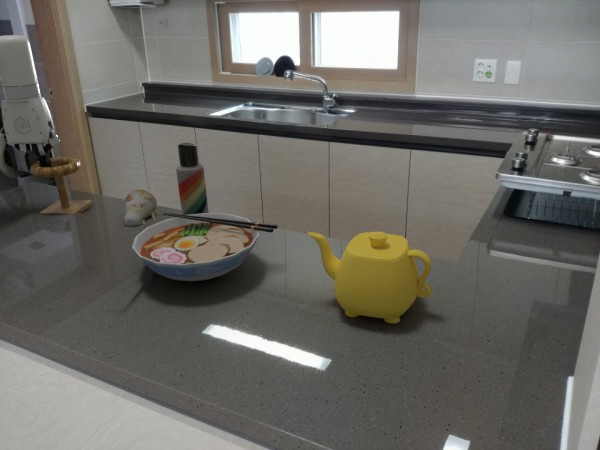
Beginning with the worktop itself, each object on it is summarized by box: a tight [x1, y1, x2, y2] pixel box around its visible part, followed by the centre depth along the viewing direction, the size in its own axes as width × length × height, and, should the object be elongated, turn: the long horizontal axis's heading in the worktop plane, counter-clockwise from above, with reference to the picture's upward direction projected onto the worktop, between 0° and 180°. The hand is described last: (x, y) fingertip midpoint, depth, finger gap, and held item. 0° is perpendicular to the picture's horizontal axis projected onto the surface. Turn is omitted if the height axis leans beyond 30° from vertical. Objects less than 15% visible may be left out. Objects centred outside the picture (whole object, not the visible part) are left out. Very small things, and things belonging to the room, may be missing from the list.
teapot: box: [307, 231, 433, 324], centre depth 85 cm, size 14×20×13 cm
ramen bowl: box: [131, 212, 279, 282], centre depth 99 cm, size 25×23×8 cm
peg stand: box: [39, 158, 93, 214], centre depth 130 cm, size 9×9×13 cm
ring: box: [29, 156, 82, 179], centre depth 129 cm, size 11×11×2 cm
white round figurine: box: [123, 188, 158, 227], centre depth 123 cm, size 8×10×10 cm
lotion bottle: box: [175, 142, 210, 215], centre depth 114 cm, size 6×6×20 cm
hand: (39, 169), depth 129 cm, fingers closed on ring, 2 cm apart
